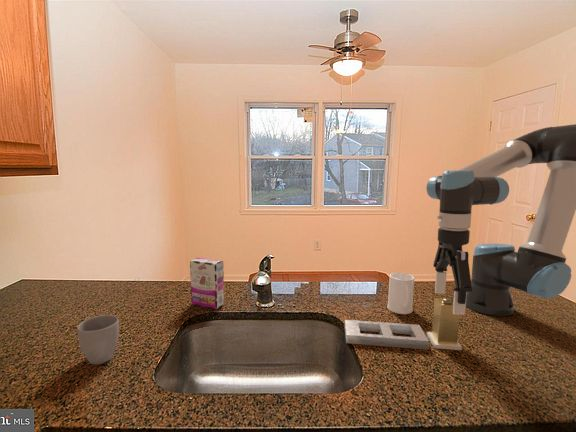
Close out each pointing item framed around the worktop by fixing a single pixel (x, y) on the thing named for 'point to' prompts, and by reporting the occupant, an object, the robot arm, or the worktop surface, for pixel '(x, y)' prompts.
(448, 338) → the brass block
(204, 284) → the candy bar box
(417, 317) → the worktop surface
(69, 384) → the worktop surface
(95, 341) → the mug
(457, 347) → the pad
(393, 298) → the mug
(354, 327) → the rail plate
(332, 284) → the worktop surface
